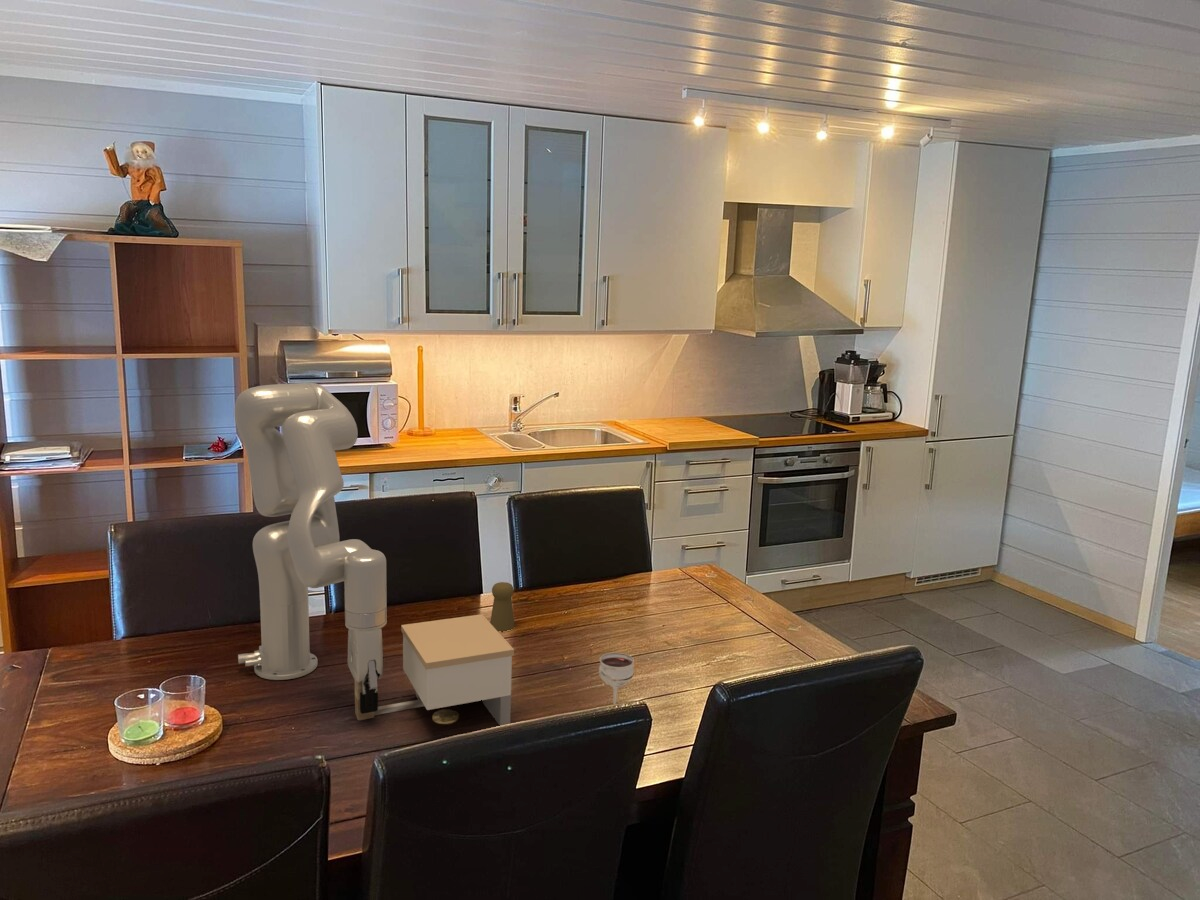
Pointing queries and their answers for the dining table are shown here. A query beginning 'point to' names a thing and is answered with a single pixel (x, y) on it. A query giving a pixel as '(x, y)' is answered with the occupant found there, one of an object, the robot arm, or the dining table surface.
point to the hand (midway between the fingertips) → (367, 706)
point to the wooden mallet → (381, 708)
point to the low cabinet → (459, 664)
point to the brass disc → (445, 716)
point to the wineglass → (616, 670)
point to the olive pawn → (502, 607)
